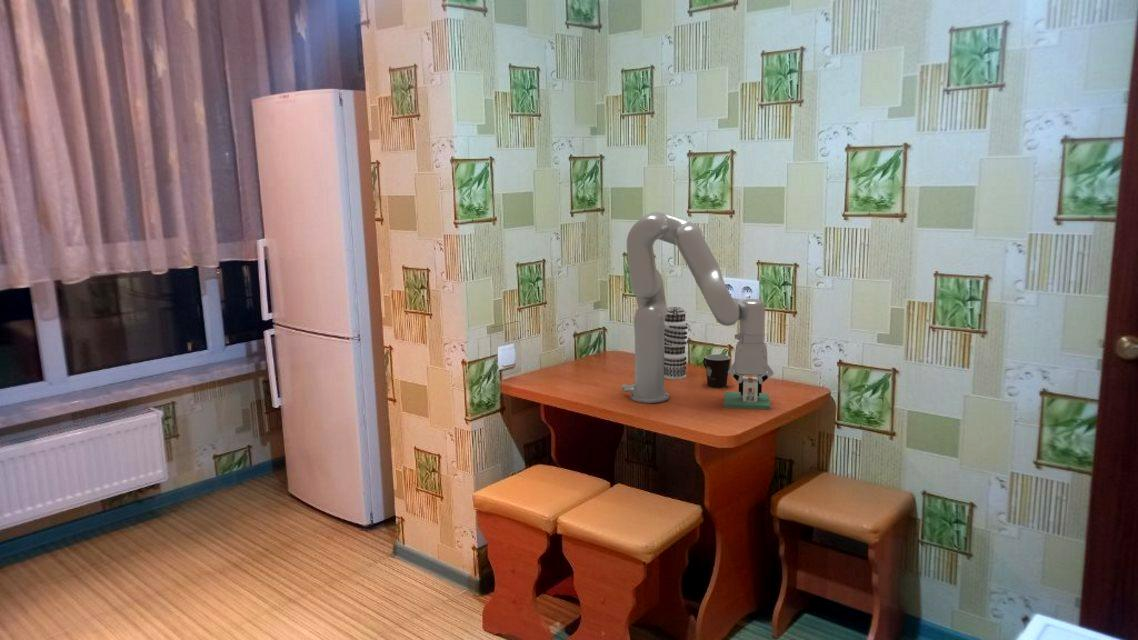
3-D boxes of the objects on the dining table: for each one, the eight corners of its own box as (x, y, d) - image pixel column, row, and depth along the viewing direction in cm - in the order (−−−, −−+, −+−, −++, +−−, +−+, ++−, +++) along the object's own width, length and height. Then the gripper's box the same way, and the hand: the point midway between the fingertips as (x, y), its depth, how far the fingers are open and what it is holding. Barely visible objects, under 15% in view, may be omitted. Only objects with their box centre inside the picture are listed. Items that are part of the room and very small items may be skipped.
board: (724, 407, 245) (724, 394, 245) (724, 395, 259) (724, 382, 258) (770, 409, 243) (770, 396, 242) (768, 396, 256) (768, 384, 255)
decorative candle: (692, 375, 284) (693, 307, 279) (677, 380, 277) (677, 311, 273) (671, 371, 290) (672, 304, 285) (656, 376, 283) (656, 308, 279)
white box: (742, 401, 247) (743, 382, 246) (742, 394, 255) (743, 375, 253) (757, 402, 246) (757, 383, 245) (756, 395, 254) (757, 376, 253)
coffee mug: (732, 388, 266) (732, 360, 264) (706, 389, 266) (707, 360, 264) (725, 379, 278) (725, 352, 276) (700, 380, 278) (701, 352, 276)
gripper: (724, 340, 245) (722, 396, 248) (779, 341, 241) (777, 399, 245) (724, 335, 252) (723, 390, 255) (778, 336, 249) (776, 392, 252)
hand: (749, 394), depth 250 cm, fingers closed on white box, 4 cm apart
